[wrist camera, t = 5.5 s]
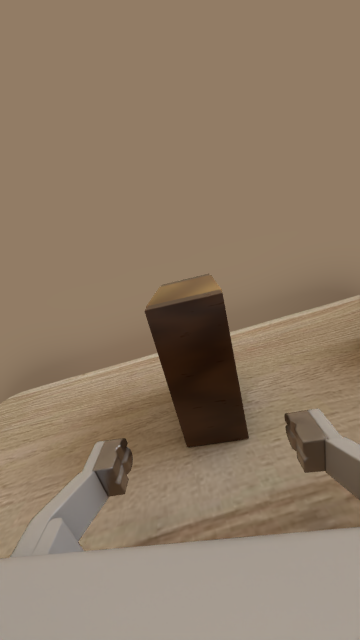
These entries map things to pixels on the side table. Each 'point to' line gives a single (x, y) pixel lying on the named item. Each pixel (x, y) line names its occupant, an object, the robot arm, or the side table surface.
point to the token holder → (198, 359)
